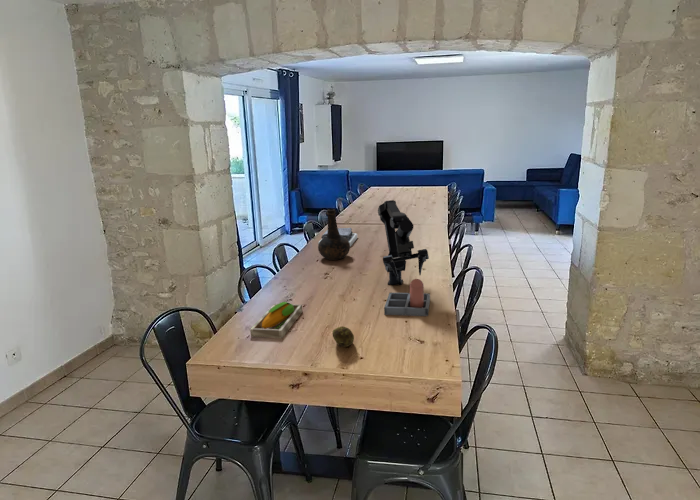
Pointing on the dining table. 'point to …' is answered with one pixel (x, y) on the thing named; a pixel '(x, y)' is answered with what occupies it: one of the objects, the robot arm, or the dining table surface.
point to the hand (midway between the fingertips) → (408, 277)
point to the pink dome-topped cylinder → (416, 294)
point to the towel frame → (350, 240)
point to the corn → (278, 315)
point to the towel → (342, 233)
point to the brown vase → (333, 240)
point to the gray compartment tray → (405, 305)
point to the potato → (343, 336)
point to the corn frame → (275, 333)
